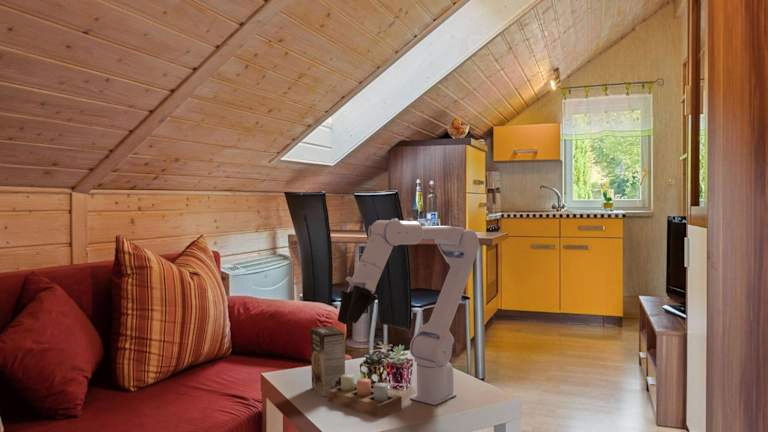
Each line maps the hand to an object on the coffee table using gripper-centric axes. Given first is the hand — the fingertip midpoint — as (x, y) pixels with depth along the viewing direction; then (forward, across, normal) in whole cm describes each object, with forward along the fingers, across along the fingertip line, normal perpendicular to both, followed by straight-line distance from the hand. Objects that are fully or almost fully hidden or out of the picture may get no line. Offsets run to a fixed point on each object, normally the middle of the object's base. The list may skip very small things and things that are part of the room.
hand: (346, 322), depth 129 cm
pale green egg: (+12, -21, +13) cm, 28 cm away
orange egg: (+12, -16, +16) cm, 26 cm away
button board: (+14, -16, +17) cm, 27 cm away
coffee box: (+14, -30, +11) cm, 35 cm away
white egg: (+12, -11, +19) cm, 25 cm away
